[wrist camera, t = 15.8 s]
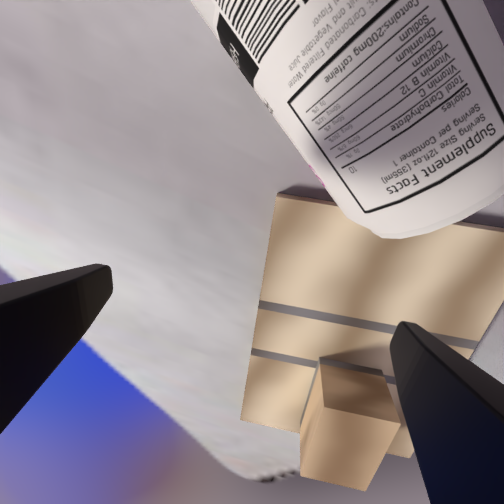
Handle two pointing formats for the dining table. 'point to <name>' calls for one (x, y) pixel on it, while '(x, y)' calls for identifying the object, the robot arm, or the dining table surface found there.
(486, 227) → the board
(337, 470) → the block
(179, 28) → the dining table surface
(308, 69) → the supplement can
